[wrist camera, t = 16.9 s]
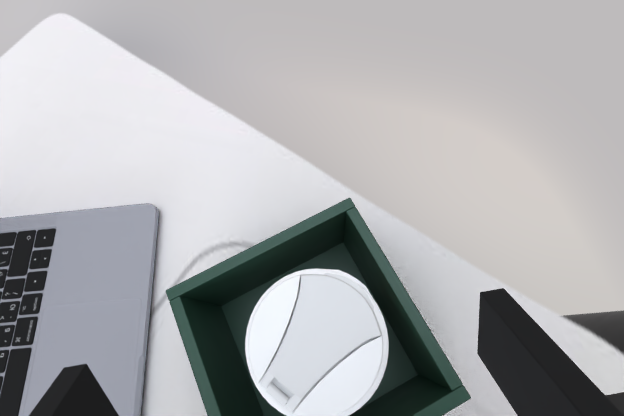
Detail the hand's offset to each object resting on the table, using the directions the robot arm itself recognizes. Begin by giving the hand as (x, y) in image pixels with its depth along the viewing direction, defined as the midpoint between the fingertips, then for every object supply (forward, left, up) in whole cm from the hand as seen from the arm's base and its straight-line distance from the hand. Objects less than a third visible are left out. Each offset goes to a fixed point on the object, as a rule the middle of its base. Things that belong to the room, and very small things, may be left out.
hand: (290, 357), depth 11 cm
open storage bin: (0, 0, -20) cm, 21 cm away
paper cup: (0, -1, -20) cm, 20 cm away
